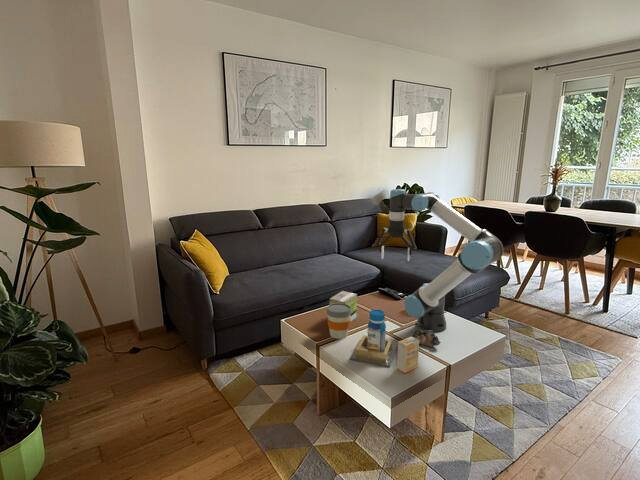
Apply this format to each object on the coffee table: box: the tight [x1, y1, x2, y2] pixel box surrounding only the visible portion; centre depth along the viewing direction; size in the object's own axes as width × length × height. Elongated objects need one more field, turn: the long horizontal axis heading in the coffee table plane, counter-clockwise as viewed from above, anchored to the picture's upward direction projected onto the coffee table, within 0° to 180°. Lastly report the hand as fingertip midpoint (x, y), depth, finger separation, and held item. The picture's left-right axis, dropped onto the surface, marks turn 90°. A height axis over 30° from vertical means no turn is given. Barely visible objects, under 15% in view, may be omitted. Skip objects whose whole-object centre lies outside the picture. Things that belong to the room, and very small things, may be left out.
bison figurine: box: [411, 328, 441, 348], centre depth 173 cm, size 12×7×10 cm
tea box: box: [329, 290, 358, 323], centre depth 199 cm, size 15×10×15 cm, turn 148°
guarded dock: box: [349, 335, 398, 368], centre depth 165 cm, size 18×18×4 cm
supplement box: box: [396, 335, 420, 374], centre depth 152 cm, size 8×5×13 cm, turn 126°
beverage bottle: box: [366, 308, 387, 352], centre depth 162 cm, size 8×8×20 cm
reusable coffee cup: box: [326, 303, 352, 340], centre depth 182 cm, size 13×13×15 cm
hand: (395, 259), depth 188 cm, fingers open, 13 cm apart
